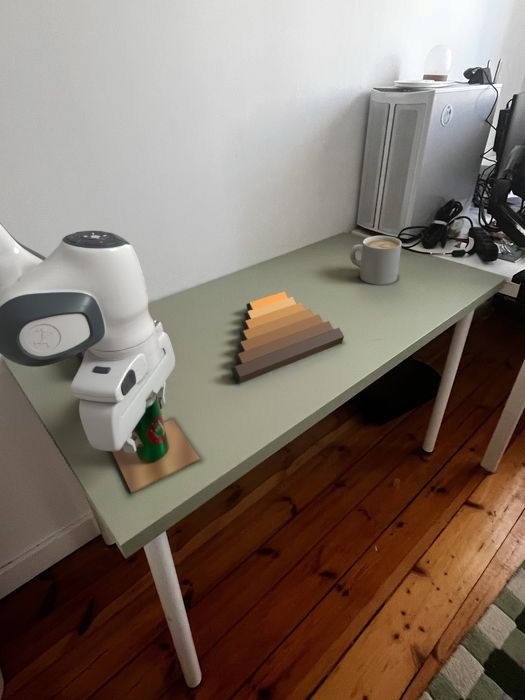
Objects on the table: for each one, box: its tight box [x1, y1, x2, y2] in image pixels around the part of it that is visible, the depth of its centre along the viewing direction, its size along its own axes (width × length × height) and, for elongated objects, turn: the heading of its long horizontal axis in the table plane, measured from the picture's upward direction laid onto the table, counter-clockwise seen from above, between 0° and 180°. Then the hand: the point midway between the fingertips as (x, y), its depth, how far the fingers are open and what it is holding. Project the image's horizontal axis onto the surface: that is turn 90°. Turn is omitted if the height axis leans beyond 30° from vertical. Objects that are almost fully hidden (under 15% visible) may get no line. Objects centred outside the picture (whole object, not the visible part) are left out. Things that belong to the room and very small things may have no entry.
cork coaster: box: [111, 418, 201, 494], centre depth 69 cm, size 11×11×1 cm
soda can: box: [131, 390, 169, 462], centre depth 66 cm, size 5×5×12 cm
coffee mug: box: [349, 235, 402, 286], centre depth 118 cm, size 13×10×10 cm
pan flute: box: [231, 291, 345, 385], centre depth 96 cm, size 25×3×25 cm
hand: (146, 426), depth 66 cm, fingers open, 8 cm apart
